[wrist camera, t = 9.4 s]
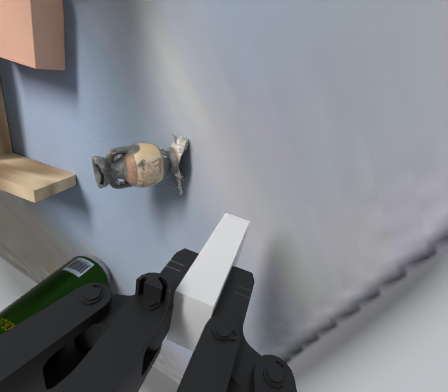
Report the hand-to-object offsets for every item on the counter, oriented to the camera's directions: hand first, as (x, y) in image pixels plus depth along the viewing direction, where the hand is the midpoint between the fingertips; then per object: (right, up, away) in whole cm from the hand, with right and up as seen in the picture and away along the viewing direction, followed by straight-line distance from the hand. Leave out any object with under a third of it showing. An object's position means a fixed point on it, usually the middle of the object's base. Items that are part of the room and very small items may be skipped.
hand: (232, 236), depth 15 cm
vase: (-6, +6, +7) cm, 11 cm away
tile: (-16, +17, +6) cm, 24 cm away
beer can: (-16, -7, +16) cm, 24 cm away
